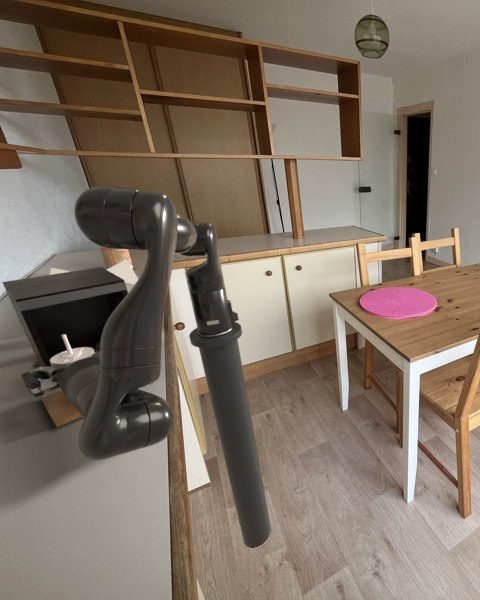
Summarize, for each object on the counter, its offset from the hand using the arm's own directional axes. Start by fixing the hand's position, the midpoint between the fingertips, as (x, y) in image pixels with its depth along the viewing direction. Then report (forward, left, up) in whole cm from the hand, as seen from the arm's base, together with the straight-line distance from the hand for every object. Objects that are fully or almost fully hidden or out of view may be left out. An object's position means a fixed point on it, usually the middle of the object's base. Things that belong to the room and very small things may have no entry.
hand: (71, 355), depth 64 cm
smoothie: (0, +2, -9) cm, 9 cm away
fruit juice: (-35, -105, -10) cm, 111 cm away
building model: (-18, -64, -10) cm, 67 cm away
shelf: (-5, -16, -10) cm, 19 cm away
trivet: (0, +2, -10) cm, 10 cm away
